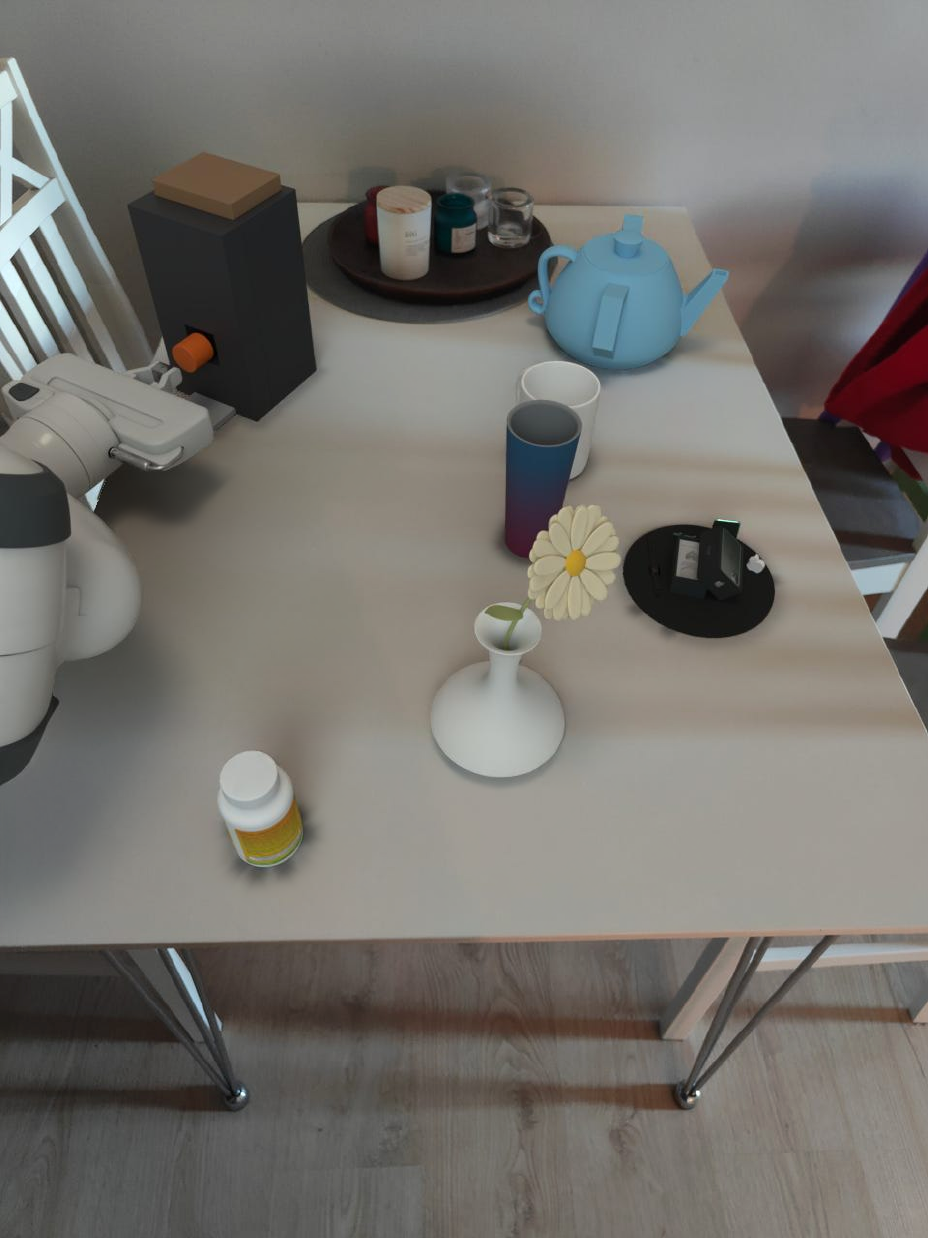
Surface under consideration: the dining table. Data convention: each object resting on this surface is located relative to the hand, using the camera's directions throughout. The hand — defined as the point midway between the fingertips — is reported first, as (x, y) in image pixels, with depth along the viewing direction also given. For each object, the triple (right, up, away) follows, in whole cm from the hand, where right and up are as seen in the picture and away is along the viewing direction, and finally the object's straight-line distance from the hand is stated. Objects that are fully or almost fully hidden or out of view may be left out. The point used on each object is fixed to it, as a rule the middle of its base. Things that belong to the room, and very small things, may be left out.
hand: (170, 369), depth 91 cm
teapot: (+51, +10, +21) cm, 57 cm away
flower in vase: (+35, -36, -18) cm, 53 cm away
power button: (+2, +2, +3) cm, 4 cm away
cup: (+38, -19, -3) cm, 43 cm away
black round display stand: (+55, -23, -6) cm, 60 cm away
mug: (+40, -8, +6) cm, 42 cm away
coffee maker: (+4, +1, +12) cm, 12 cm away
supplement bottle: (+16, -44, -25) cm, 53 cm away
